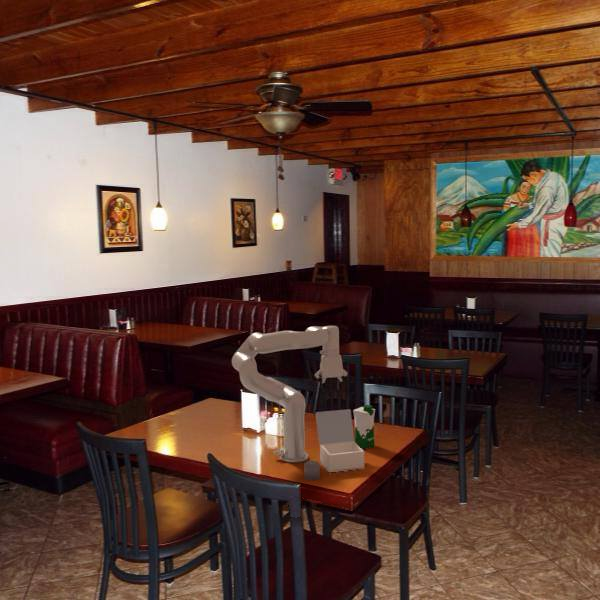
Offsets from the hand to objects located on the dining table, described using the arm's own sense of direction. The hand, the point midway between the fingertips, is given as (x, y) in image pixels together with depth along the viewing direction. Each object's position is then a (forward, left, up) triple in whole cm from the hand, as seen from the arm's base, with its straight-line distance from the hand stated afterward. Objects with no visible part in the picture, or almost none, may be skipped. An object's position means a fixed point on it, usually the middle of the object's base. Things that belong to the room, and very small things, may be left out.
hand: (331, 390), depth 286 cm
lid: (-1, -9, -15) cm, 17 cm away
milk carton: (+17, +3, -30) cm, 34 cm away
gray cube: (-17, -27, -30) cm, 44 cm away
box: (-1, -18, -30) cm, 35 cm away
